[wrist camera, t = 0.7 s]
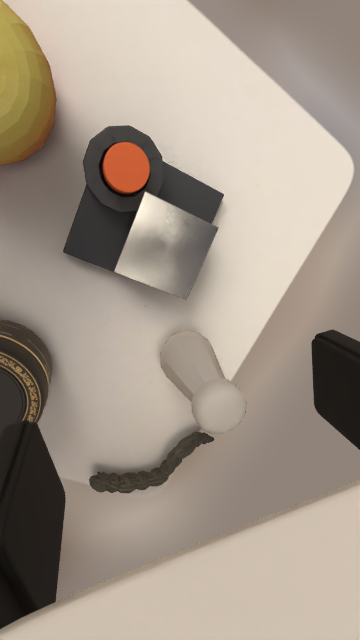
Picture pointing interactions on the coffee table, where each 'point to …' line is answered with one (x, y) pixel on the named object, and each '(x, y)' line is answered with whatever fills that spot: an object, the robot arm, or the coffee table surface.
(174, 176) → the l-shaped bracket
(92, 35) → the coffee table surface
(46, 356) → the jar
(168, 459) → the toy
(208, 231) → the plate
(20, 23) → the apple
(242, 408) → the salt shaker
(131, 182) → the button
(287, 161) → the coffee table surface
